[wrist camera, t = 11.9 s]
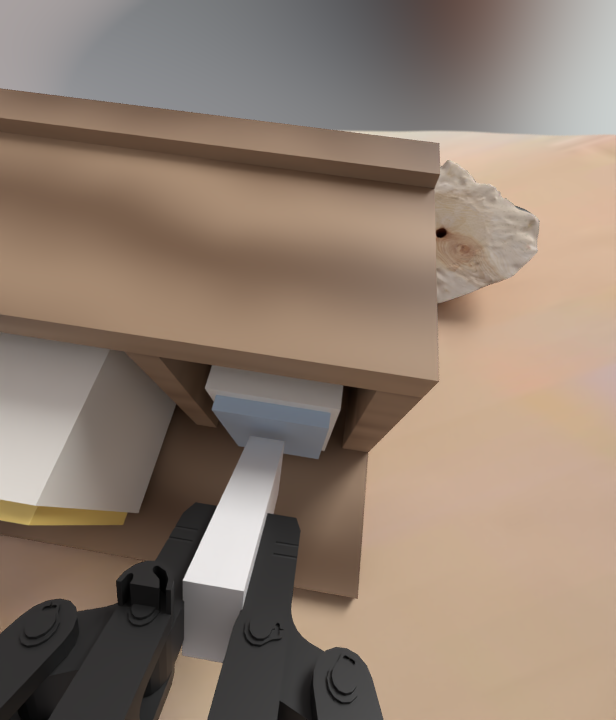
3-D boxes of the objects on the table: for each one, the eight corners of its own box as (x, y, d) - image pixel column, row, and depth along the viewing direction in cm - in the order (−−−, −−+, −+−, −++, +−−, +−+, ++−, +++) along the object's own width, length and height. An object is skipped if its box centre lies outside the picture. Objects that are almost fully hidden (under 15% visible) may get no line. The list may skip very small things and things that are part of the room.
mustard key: (133, 526, 17) (25, 527, 10) (38, 509, 17) (-131, 499, 10) (182, 387, 20) (125, 317, 13) (102, 374, 20) (6, 300, 14)
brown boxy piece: (355, 596, 17) (460, 723, 6) (-169, 502, 18) (-860, 468, 7) (376, 309, 24) (439, 143, 14) (11, 255, 25) (-192, 64, 15)
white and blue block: (323, 461, 18) (338, 426, 12) (234, 447, 19) (199, 403, 12) (338, 343, 22) (357, 262, 15) (263, 332, 22) (248, 247, 15)
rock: (375, 325, 29) (542, 304, 24) (362, 312, 26) (551, 283, 20) (372, 210, 31) (522, 168, 26) (360, 185, 28) (528, 131, 23)
